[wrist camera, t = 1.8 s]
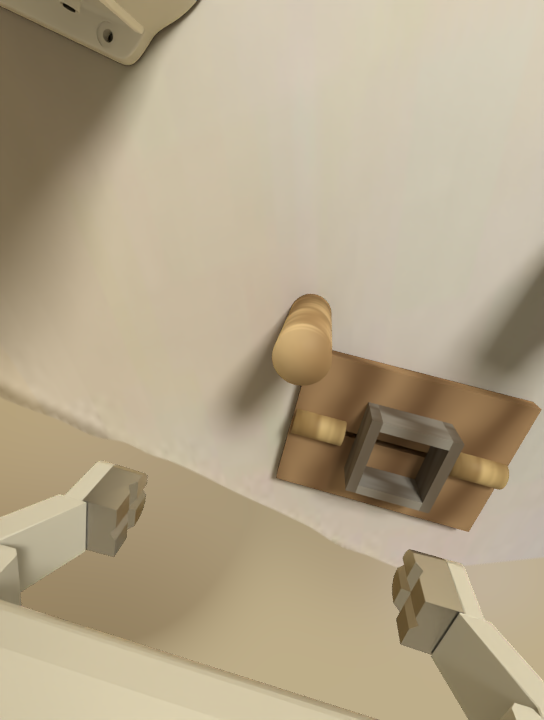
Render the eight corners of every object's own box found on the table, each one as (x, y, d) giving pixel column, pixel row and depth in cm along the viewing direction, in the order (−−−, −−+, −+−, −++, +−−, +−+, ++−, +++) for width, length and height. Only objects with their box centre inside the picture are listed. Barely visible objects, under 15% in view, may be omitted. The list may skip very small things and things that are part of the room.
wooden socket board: (277, 469, 42) (271, 500, 38) (312, 345, 36) (310, 363, 31) (463, 521, 41) (480, 559, 36) (533, 401, 35) (563, 429, 30)
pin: (286, 328, 36) (266, 377, 25) (295, 289, 34) (279, 322, 23) (325, 338, 36) (322, 392, 25) (336, 299, 34) (339, 338, 23)
